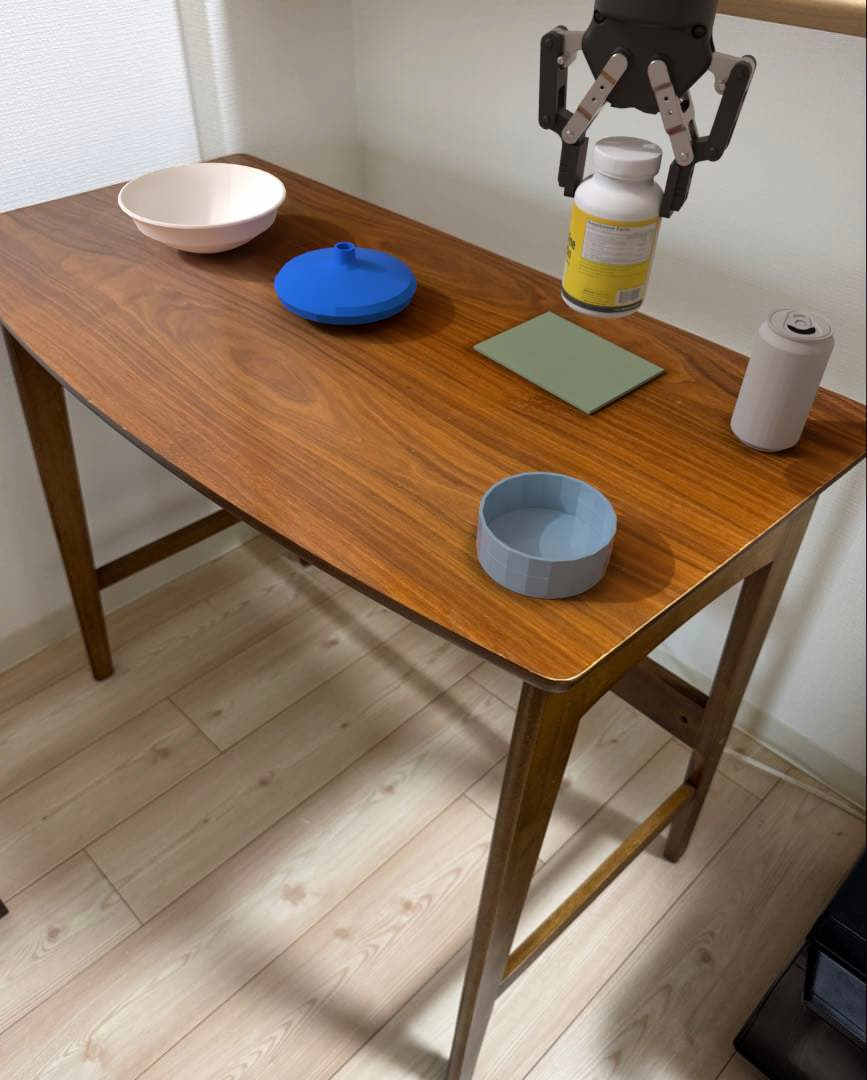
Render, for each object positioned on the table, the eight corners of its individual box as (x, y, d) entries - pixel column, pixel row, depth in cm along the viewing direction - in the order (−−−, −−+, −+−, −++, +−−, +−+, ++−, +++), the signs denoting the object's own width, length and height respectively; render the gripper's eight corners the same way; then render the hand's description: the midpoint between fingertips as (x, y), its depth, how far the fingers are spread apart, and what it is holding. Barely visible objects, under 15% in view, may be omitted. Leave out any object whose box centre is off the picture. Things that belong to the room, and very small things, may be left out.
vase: (248, 300, 102) (242, 240, 97) (359, 262, 110) (358, 205, 105) (331, 357, 93) (328, 294, 89) (445, 312, 101) (447, 252, 97)
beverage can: (730, 451, 84) (767, 336, 76) (725, 413, 88) (759, 300, 80) (801, 460, 83) (845, 344, 75) (792, 421, 88) (833, 308, 80)
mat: (663, 372, 94) (664, 369, 93) (589, 414, 87) (589, 411, 87) (548, 314, 102) (549, 311, 102) (473, 349, 96) (473, 345, 95)
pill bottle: (593, 274, 73) (618, 124, 65) (659, 303, 70) (694, 149, 62) (542, 299, 70) (562, 144, 62) (610, 331, 66) (640, 172, 59)
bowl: (98, 266, 107) (86, 214, 103) (170, 203, 121) (162, 154, 117) (256, 288, 104) (250, 235, 100) (311, 221, 119) (308, 172, 114)
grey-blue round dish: (536, 492, 78) (542, 455, 75) (634, 555, 73) (644, 518, 70) (449, 547, 73) (451, 509, 70) (548, 620, 67) (554, 582, 64)
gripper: (534, -80, 53) (507, 202, 64) (783, -50, 49) (707, 245, 60) (573, -96, 58) (542, 168, 69) (802, -69, 54) (729, 206, 65)
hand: (619, 203), depth 65 cm, fingers closed on pill bottle, 6 cm apart
